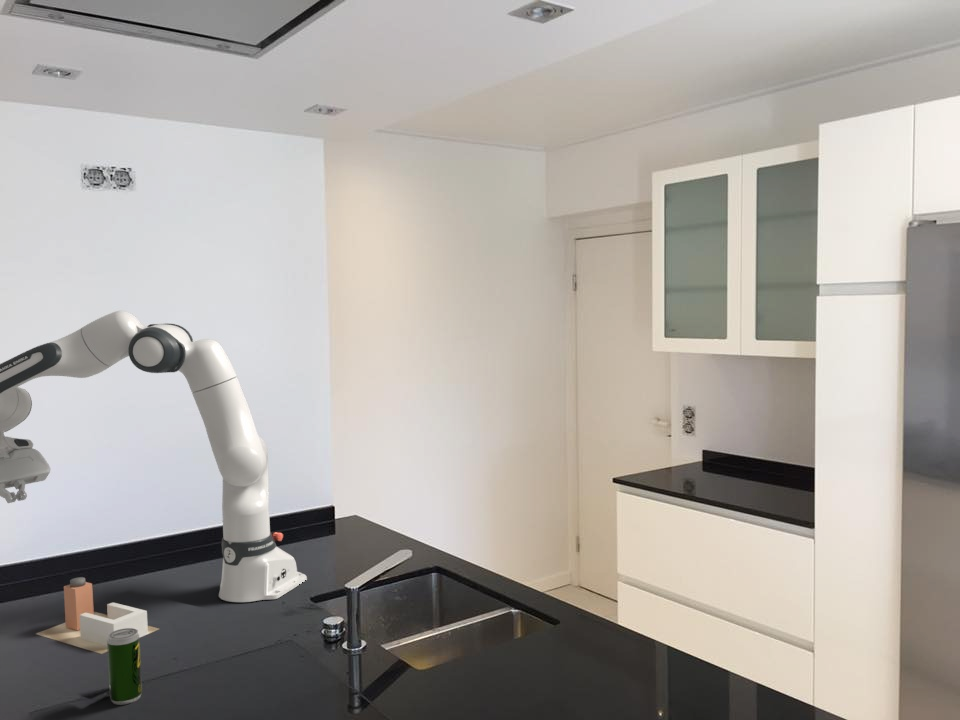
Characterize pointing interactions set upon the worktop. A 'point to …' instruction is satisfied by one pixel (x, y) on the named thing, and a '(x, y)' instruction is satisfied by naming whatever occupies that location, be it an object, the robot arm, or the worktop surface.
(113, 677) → the beer can
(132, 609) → the socket
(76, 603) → the plug
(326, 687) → the worktop surface
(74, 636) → the base board
